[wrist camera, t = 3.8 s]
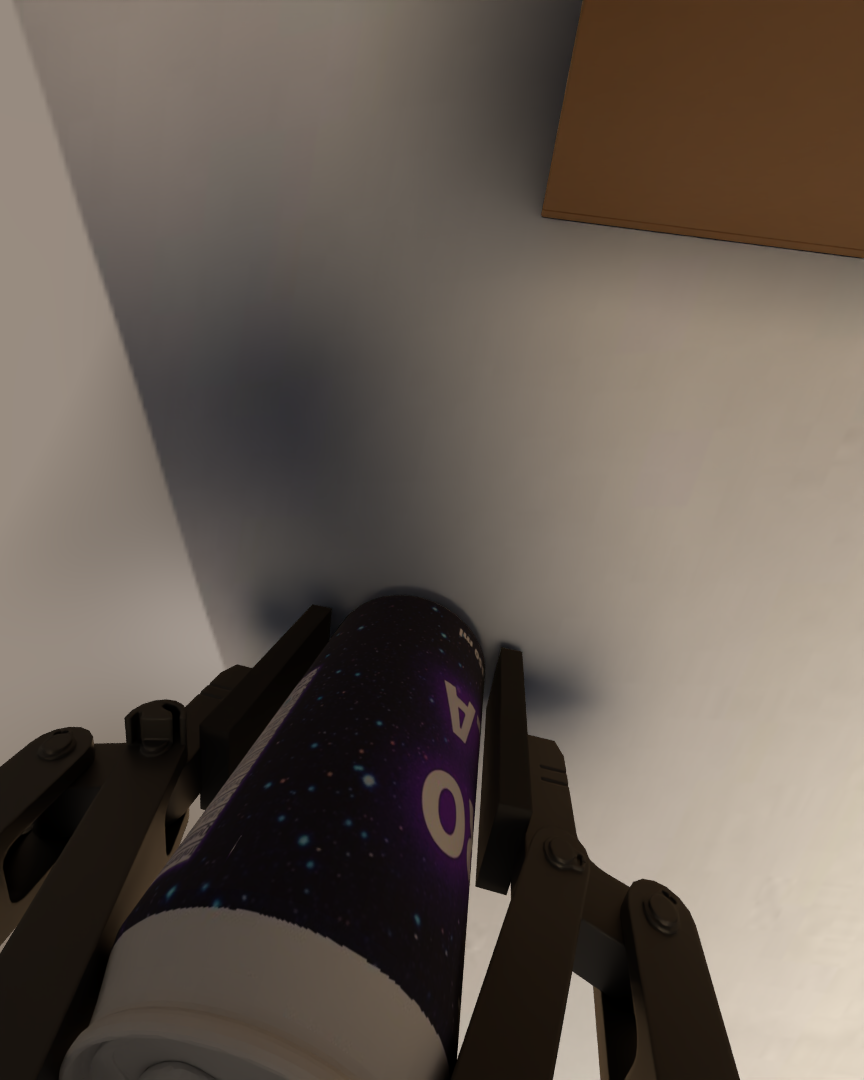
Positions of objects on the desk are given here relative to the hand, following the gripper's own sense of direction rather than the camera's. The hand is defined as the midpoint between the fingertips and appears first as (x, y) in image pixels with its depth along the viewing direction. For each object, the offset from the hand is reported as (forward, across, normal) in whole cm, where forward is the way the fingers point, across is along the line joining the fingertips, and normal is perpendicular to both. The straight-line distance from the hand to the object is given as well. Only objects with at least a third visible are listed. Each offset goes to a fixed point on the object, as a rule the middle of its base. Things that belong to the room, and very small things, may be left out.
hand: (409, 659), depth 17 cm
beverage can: (+1, 0, 0) cm, 1 cm away
